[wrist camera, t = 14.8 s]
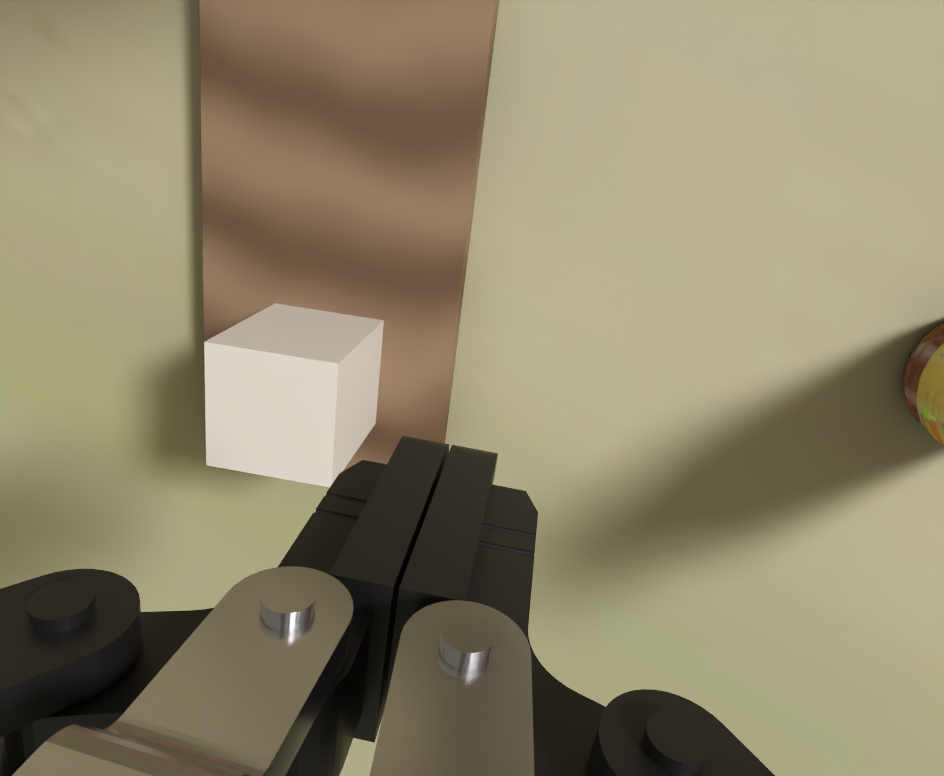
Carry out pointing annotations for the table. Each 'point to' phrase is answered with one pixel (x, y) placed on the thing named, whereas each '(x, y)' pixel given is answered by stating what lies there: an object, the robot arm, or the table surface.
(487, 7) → the board
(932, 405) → the sauce bottle
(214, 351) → the white rectangular block
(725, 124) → the table surface
